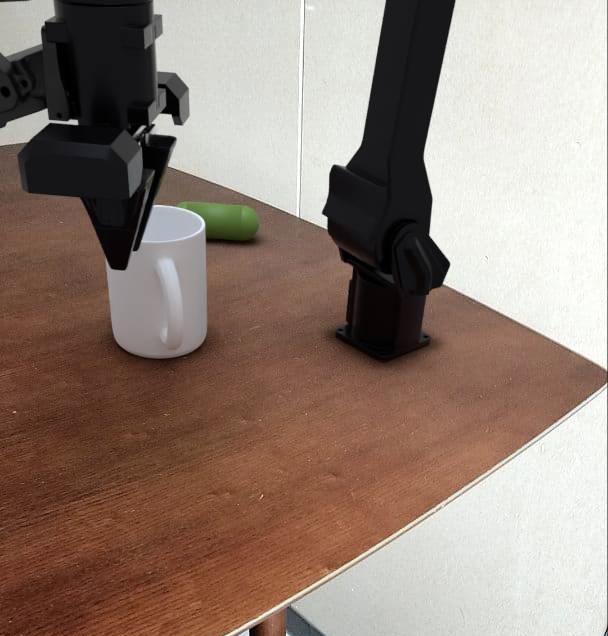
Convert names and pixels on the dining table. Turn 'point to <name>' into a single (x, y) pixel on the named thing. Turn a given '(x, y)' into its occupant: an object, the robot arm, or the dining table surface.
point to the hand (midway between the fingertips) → (125, 259)
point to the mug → (162, 288)
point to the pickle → (225, 220)
